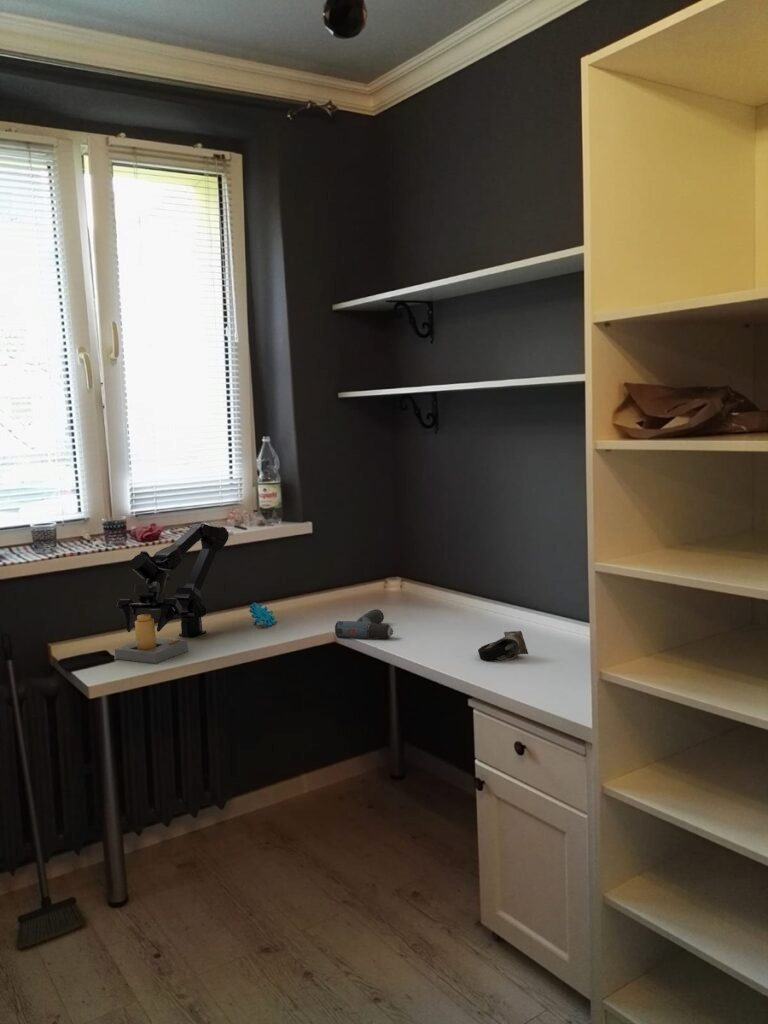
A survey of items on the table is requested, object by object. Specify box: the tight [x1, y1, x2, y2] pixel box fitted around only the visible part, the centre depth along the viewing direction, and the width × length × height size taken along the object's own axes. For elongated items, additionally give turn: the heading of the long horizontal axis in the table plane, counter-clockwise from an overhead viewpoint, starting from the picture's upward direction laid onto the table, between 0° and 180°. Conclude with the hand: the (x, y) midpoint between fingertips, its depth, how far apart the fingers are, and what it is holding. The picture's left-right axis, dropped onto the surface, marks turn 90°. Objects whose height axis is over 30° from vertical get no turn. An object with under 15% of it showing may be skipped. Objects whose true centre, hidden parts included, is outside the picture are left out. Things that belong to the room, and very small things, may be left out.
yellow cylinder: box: [134, 613, 157, 651], centre depth 259 cm, size 6×6×12 cm
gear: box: [248, 602, 276, 627], centre depth 291 cm, size 11×6×10 cm
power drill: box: [334, 608, 395, 639], centre depth 274 cm, size 5×19×20 cm
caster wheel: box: [477, 630, 529, 662], centre depth 238 cm, size 7×11×10 cm
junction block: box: [114, 637, 189, 664], centre depth 261 cm, size 14×16×4 cm
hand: (143, 631), depth 257 cm, fingers open, 9 cm apart
